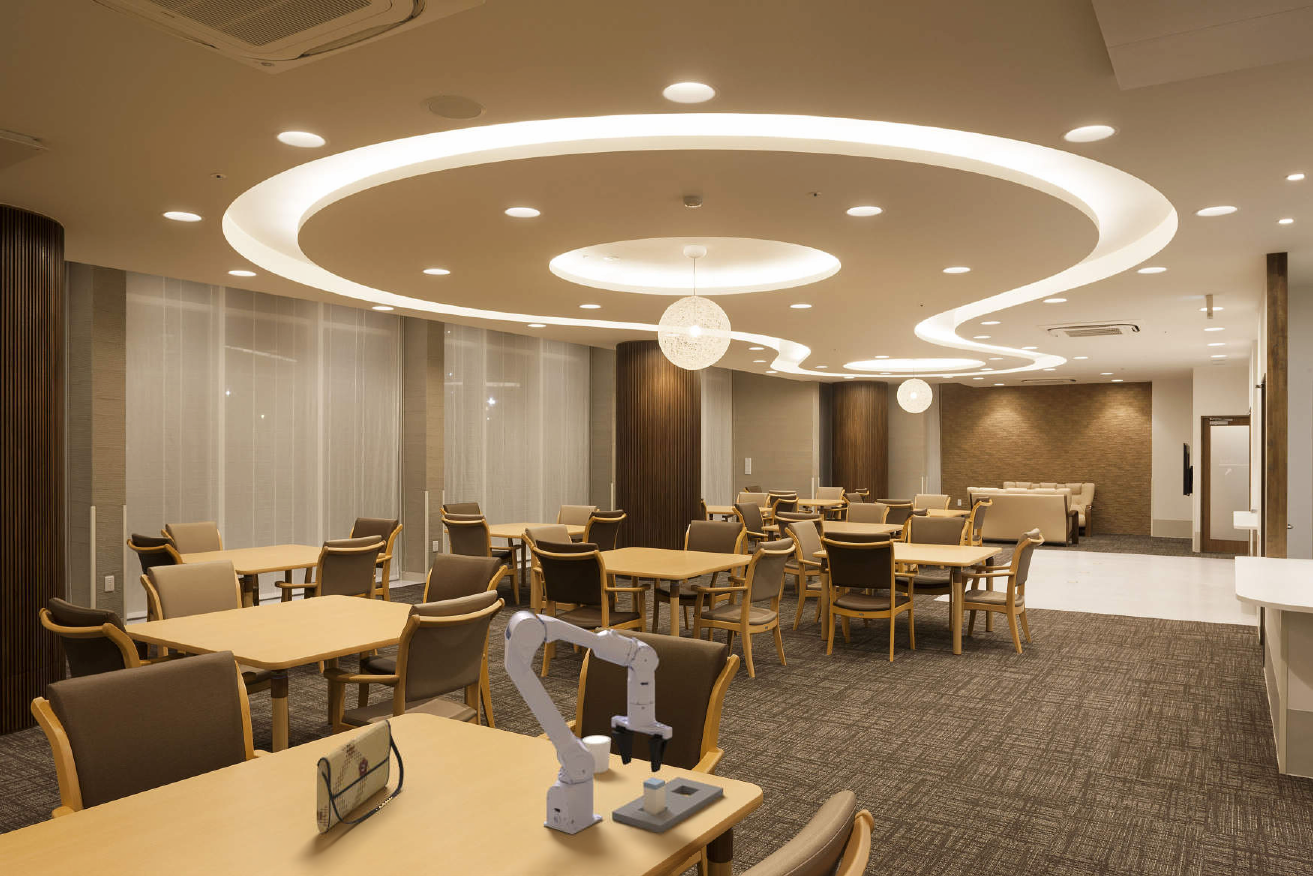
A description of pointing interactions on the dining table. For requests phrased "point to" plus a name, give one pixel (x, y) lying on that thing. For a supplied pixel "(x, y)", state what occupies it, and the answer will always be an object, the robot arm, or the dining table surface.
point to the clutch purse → (355, 775)
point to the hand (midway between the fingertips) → (641, 767)
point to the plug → (654, 796)
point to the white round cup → (599, 751)
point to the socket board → (669, 805)
